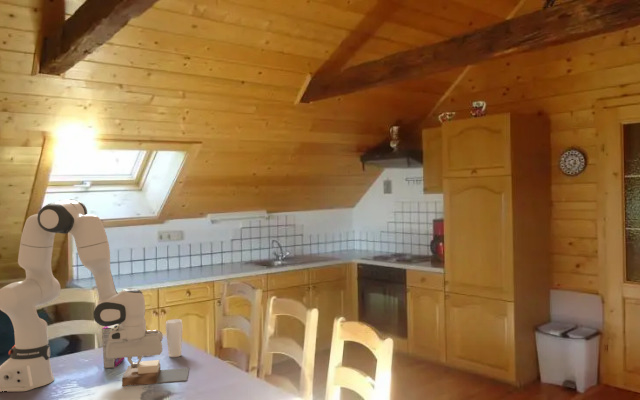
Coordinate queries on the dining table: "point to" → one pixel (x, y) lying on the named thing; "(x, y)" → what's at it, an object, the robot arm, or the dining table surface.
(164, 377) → the mat
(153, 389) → the dining table surface
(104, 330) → the candy bar box
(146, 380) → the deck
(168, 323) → the white tapered cup
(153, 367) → the tile
